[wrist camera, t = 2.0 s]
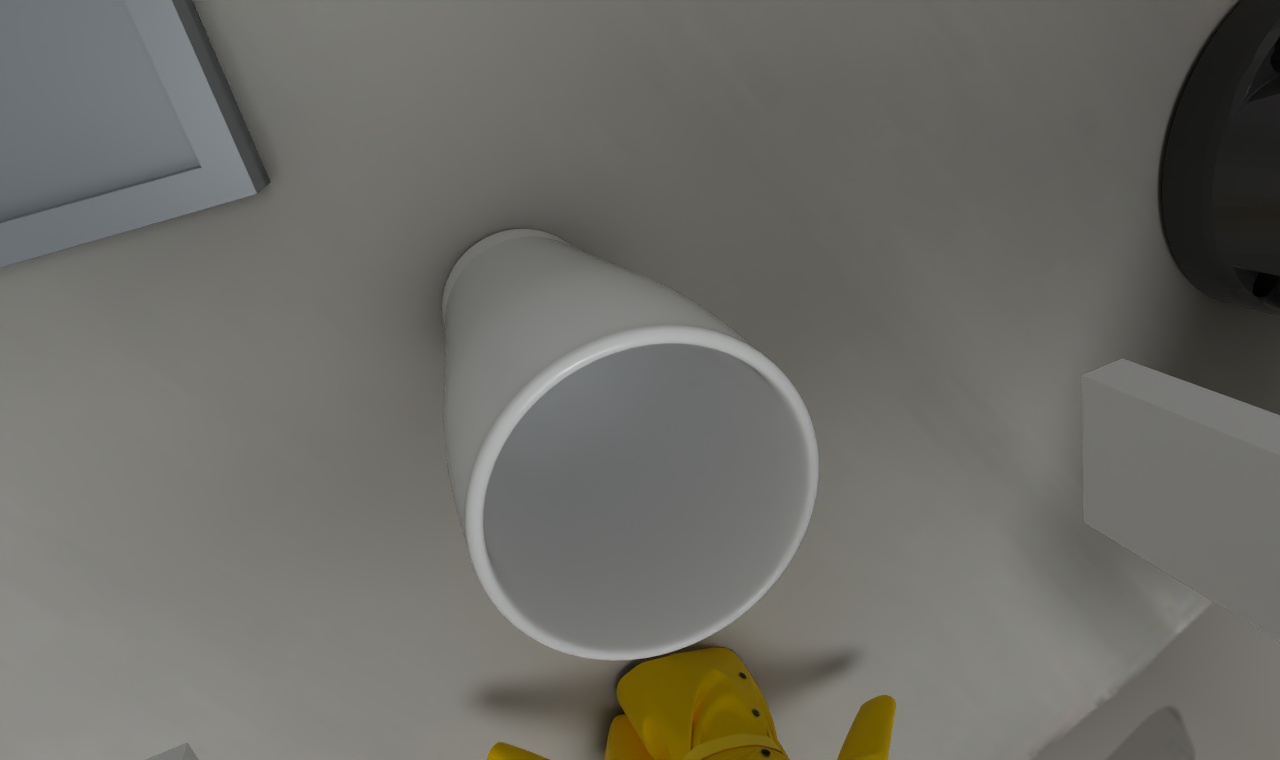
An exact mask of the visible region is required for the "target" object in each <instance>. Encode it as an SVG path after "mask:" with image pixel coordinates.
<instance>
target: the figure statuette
mask: <svg viewBox="0 0 1280 760" xmlns="http://www.w3.org/2000/svg"><path fill="white" fill-rule="evenodd" d="M617 698H618V701H619V704H620V705H621V707H622V709H623V710H624V712H625V714H621V715H618V716H616V717H615V718H614V719H613V721H612V723H611V725H610V730H609V735H608V740H607V746H606V752H605V757H604V760H789V758H788V756H787V754H786V753H785V751H784V749H783V747H782V746H781V744H780V743H779V741H778V740H777V735H776V730H775V726H774V723H773V719H772V716H771V714H770V711H769V709H768V706H767V703H766V701H765V699H764V697H763V695H762V693H761V691H760V689H759V687H758V685H757V684H756V682H755V681H754V679H753V677H752V676H751V674H750V673H749V671H748V670H747V668H746V667H745V665H744V664H743V662H742V661H741V659H740V658H739V657H738V656H737V655H736V654H735V653H734V652H733V651H731V650H729V649H727V648H706V649H699V650H694V651H688V652H680V653H671V655H669V656H665V657H662V658H658V659H654V660H650V661H646V662H643V663H641V664H639V665H637V666H636V667H635V668H633V669H632V670H631V671H629V672H628V673H627V674H626V675H624V676H623V677H622V679H621V680H620V681H619V683H618V686H617ZM895 709H896V702H895V700H894V699H893V698H892V697H890V696H887V695H881V696H878V697H875V698H873V699H871V700H869V701H867V702H866V703H864V704H863V705H862V706H861V707H860V709H859V712H858V714H857V716H856V717H855V719H854V721H853V724H852V726H851V728H850V730H849V732H848V735H847V737H846V739H845V741H844V744H843V746H842V749H841V751H840V754H839V756H838V759H837V760H888V756H889V748H890V741H891V734H892V728H893V722H894V715H895ZM487 760H549V759H547V758H544V757H542V756H539V755H537V754H534V753H532V752H529V751H527V750H524V749H521V748H518V747H516V746H513V745H510V744H506V743H503V742H499V743H497V744H495V745H494V746H493V747H492V749H491V750H490V752H489V754H488V757H487Z"/></svg>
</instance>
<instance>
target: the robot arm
mask: <svg viewBox="0 0 1280 760" xmlns="http://www.w3.org/2000/svg"><path fill="white" fill-rule="evenodd" d="M1162 203H1163V215H1164V222H1165V228H1166V233H1167V237H1168V240H1169V243H1170V247H1171V249H1172V252H1173V254H1174V256H1175V258H1176V260H1177V262H1178V264H1179V266H1180V268H1181V269H1182V271H1183V272H1184V274H1185V275H1186V276H1187V277H1188V279H1189V280H1190V281H1191V282H1192V283H1193V284H1194V285H1195V286H1196V287H1197V288H1199V289H1200V290H1201V291H1203V292H1204V293H1206V294H1207V295H1209V296H1211V297H1213V298H1215V299H1217V300H1220V301H1223V302H1227V303H1231V304H1235V305H1239V306H1243V307H1247V308H1251V309H1255V310H1259V311H1263V312H1267V313H1273V314H1280V0H1243V1H1242V2H1241V3H1240V4H1239V5H1238V6H1237V7H1236V8H1235V9H1234V11H1233V12H1232V13H1231V14H1230V15H1229V17H1228V18H1227V19H1226V20H1225V22H1224V23H1223V24H1222V26H1221V27H1220V28H1219V30H1218V31H1217V32H1216V34H1215V35H1214V37H1213V38H1212V40H1211V41H1210V43H1209V44H1208V46H1207V48H1206V49H1205V51H1204V53H1203V54H1202V56H1201V58H1200V60H1199V61H1198V63H1197V65H1196V67H1195V69H1194V71H1193V73H1192V75H1191V77H1190V79H1189V81H1188V84H1187V86H1186V88H1185V90H1184V93H1183V95H1182V98H1181V100H1180V103H1179V106H1178V109H1177V112H1176V115H1175V118H1174V121H1173V124H1172V128H1171V132H1170V136H1169V140H1168V144H1167V149H1166V155H1165V161H1164V170H1163V183H1162ZM1082 439H1083V518H1084V523H1085V524H1087V525H1088V526H1090V527H1092V528H1093V529H1095V530H1097V531H1098V532H1100V533H1102V534H1103V535H1105V536H1106V537H1108V538H1110V539H1111V540H1113V541H1115V542H1116V543H1118V544H1120V545H1121V546H1123V547H1125V548H1126V549H1128V550H1129V551H1131V552H1133V553H1134V554H1136V555H1138V556H1139V557H1141V558H1143V559H1144V560H1146V561H1148V562H1149V563H1151V564H1152V565H1154V566H1156V567H1157V568H1159V569H1161V570H1162V571H1164V572H1166V573H1167V574H1169V575H1170V576H1172V577H1174V578H1175V579H1177V580H1179V581H1180V582H1182V583H1184V584H1185V585H1187V586H1189V587H1190V588H1192V589H1193V590H1195V591H1197V592H1198V593H1200V594H1202V595H1203V596H1205V597H1207V598H1208V599H1210V600H1212V601H1213V602H1215V603H1216V604H1218V605H1220V606H1221V607H1223V608H1225V609H1227V610H1228V611H1230V612H1231V613H1233V614H1234V615H1236V616H1238V617H1239V618H1241V619H1243V620H1244V621H1246V622H1248V623H1249V624H1251V625H1253V626H1254V627H1256V628H1258V629H1259V630H1261V631H1262V632H1264V633H1266V634H1267V635H1269V636H1271V637H1272V638H1274V639H1276V640H1277V641H1279V642H1280V415H1278V414H1275V413H1272V412H1270V411H1267V410H1264V409H1261V408H1259V407H1256V406H1253V405H1250V404H1247V403H1245V402H1242V401H1239V400H1236V399H1234V398H1231V397H1228V396H1225V395H1223V394H1220V393H1217V392H1214V391H1211V390H1209V389H1206V388H1203V387H1200V386H1198V385H1195V384H1192V383H1189V382H1187V381H1184V380H1181V379H1178V378H1175V377H1173V376H1170V375H1167V374H1164V373H1162V372H1159V371H1156V370H1153V369H1151V368H1148V367H1145V366H1142V365H1140V364H1137V363H1134V362H1131V361H1128V360H1126V359H1123V358H1122V359H1120V360H1117V361H1115V362H1112V363H1110V364H1107V365H1105V366H1103V367H1100V368H1098V369H1095V370H1093V371H1090V372H1088V373H1086V374H1083V375H1082ZM146 760H199V759H198V757H197V756H196V754H195V753H194V751H193V750H192V749H191V747H190V746H189V744H188V743H185V744H183V745H180V746H178V747H176V748H173V749H171V750H168V751H166V752H163V753H161V754H159V755H156V756H154V757H151V758H149V759H146Z"/></svg>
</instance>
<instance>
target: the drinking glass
mask: <svg viewBox="0 0 1280 760" xmlns="http://www.w3.org/2000/svg"><path fill="white" fill-rule="evenodd" d="M442 318H443V324H444V329H445V373H444V406H443V425H444V440H445V451H446V460H447V466H448V472H449V477H450V482H451V487H452V492H453V497H454V501H455V505H456V510H457V513H458V517H459V521H460V524H461V527H462V530H463V534H464V537H465V540H466V543H467V546H468V549H469V554H470V558H471V561H472V564H473V567H474V570H475V573H476V575H477V577H478V579H479V581H480V583H481V585H482V587H483V589H484V590H485V592H486V594H487V595H488V597H489V598H490V600H491V601H492V603H493V604H494V605H495V606H496V608H497V609H498V610H499V611H500V613H501V614H502V615H503V616H504V617H505V618H506V619H507V620H508V621H509V622H510V623H511V624H513V625H514V626H515V627H516V628H518V629H519V630H520V631H522V632H523V633H524V634H526V635H527V636H529V637H531V638H532V639H534V640H535V641H537V642H539V643H541V644H543V645H545V646H547V647H550V648H552V649H554V650H557V651H560V652H563V653H566V654H569V655H574V656H578V657H582V658H588V659H595V660H610V661H618V660H634V659H643V658H649V657H654V656H658V655H663V654H666V653H670V652H673V651H676V650H679V649H682V648H685V647H687V646H690V645H692V644H695V643H697V642H699V641H701V640H703V639H705V638H707V637H709V636H711V635H713V634H714V633H716V632H718V631H720V630H721V629H723V628H724V627H726V626H727V625H729V624H730V623H732V622H733V621H735V620H736V619H738V618H739V617H740V616H741V615H743V614H744V613H745V612H747V611H748V610H749V609H750V608H751V607H752V606H753V605H754V604H756V603H757V602H758V601H759V600H760V599H761V598H762V597H763V596H764V595H765V594H766V593H767V591H768V590H769V589H770V588H771V587H772V586H773V585H774V583H775V582H776V581H777V580H778V579H779V577H780V576H781V575H782V573H783V572H784V570H785V569H786V568H787V566H788V565H789V563H790V562H791V560H792V558H793V557H794V555H795V553H796V551H797V550H798V548H799V546H800V544H801V542H802V539H803V537H804V535H805V533H806V530H807V528H808V525H809V522H810V520H811V516H812V513H813V509H814V506H815V501H816V495H817V490H818V480H819V455H818V446H817V440H816V435H815V431H814V427H813V424H812V421H811V418H810V415H809V412H808V410H807V408H806V406H805V404H804V402H803V400H802V398H801V396H800V395H799V393H798V391H797V390H796V388H795V387H794V385H793V384H792V383H791V381H790V380H789V379H788V378H787V376H786V375H785V374H784V373H783V372H782V371H781V370H780V369H779V368H778V367H777V366H776V365H775V364H774V363H773V362H772V361H771V360H770V359H768V358H767V357H766V356H765V355H763V354H762V353H761V352H760V351H758V350H757V349H756V348H755V347H754V346H753V345H751V344H750V343H749V342H748V341H747V340H746V339H744V338H743V337H742V336H741V335H739V334H738V333H737V332H736V331H734V330H733V329H732V328H730V327H729V326H728V325H727V324H725V323H724V322H723V321H721V320H720V319H719V318H717V317H716V316H715V315H713V314H712V313H710V312H709V311H707V310H706V309H704V308H703V307H701V306H700V305H698V304H696V303H695V302H693V301H692V300H690V299H688V298H687V297H685V296H684V295H682V294H680V293H678V292H677V291H675V290H673V289H671V288H669V287H667V286H665V285H663V284H661V283H659V282H657V281H654V280H652V279H650V278H648V277H645V276H643V275H641V274H638V273H636V272H633V271H631V270H628V269H626V268H623V267H621V266H618V265H615V264H613V263H610V262H608V261H605V260H603V259H600V258H598V257H596V256H593V255H591V254H588V253H586V252H583V251H581V250H579V249H576V248H574V247H573V246H572V245H571V244H569V243H568V242H566V241H564V240H563V239H561V238H559V237H557V236H555V235H552V234H550V233H547V232H543V231H539V230H534V229H512V230H506V231H502V232H498V233H495V234H492V235H490V236H488V237H486V238H484V239H482V240H480V241H479V242H477V243H476V244H474V245H473V246H472V247H470V248H469V249H468V250H467V251H466V252H465V253H464V254H463V255H462V256H461V257H460V259H459V260H458V261H457V263H456V264H455V266H454V267H453V269H452V271H451V272H450V275H449V277H448V279H447V282H446V285H445V288H444V292H443V299H442Z"/></svg>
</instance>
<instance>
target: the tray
mask: <svg viewBox="0 0 1280 760" xmlns="http://www.w3.org/2000/svg"><path fill="white" fill-rule="evenodd" d="M269 183H270V180H269V178H268V175H267V173H266V171H265V168H264V166H263V164H262V161H261V159H260V157H259V154H258V152H257V150H256V148H255V145H254V143H253V141H252V138H251V136H250V134H249V131H248V129H247V127H246V124H245V122H244V120H243V117H242V115H241V113H240V110H239V108H238V106H237V103H236V101H235V99H234V96H233V94H232V92H231V90H230V87H229V85H228V83H227V80H226V78H225V76H224V73H223V71H222V69H221V66H220V64H219V62H218V59H217V57H216V55H215V52H214V50H213V48H212V45H211V43H210V41H209V39H208V36H207V34H206V32H205V29H204V27H203V25H202V22H201V20H200V18H199V15H198V13H197V11H196V8H195V6H194V4H193V1H192V0H0V267H4V266H7V265H11V264H14V263H18V262H21V261H25V260H28V259H32V258H35V257H39V256H42V255H46V254H49V253H53V252H56V251H60V250H63V249H67V248H70V247H74V246H77V245H81V244H84V243H88V242H91V241H94V240H98V239H101V238H105V237H108V236H112V235H115V234H119V233H122V232H126V231H129V230H133V229H136V228H140V227H143V226H147V225H150V224H154V223H157V222H161V221H164V220H168V219H171V218H175V217H178V216H182V215H185V214H189V213H192V212H196V211H199V210H203V209H206V208H210V207H213V206H217V205H220V204H224V203H227V202H231V201H234V200H238V199H241V198H245V197H248V196H252V195H255V194H258V193H259V192H260V191H261V190H262V189H263V188H264V187H265V186H267V185H268V184H269Z"/></svg>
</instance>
